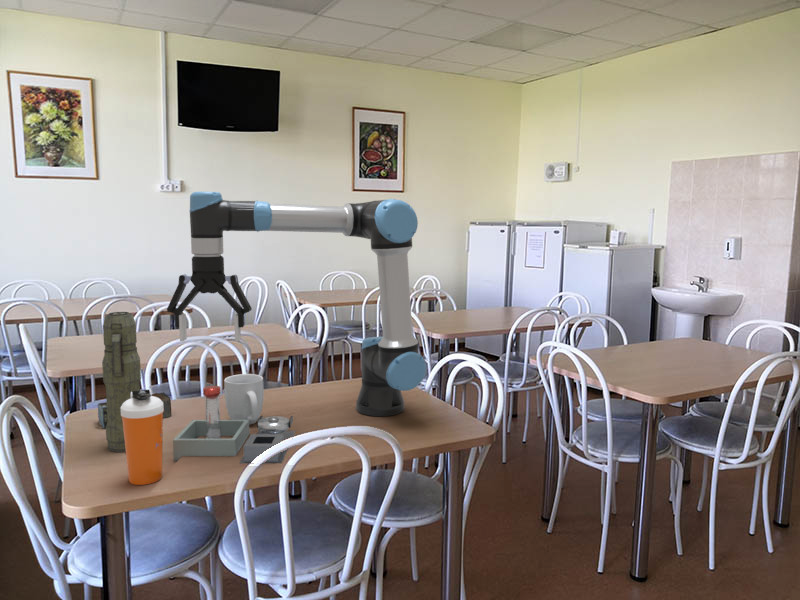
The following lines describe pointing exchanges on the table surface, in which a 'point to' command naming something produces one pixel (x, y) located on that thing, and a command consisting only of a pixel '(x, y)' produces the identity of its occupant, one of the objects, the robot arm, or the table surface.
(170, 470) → the table surface
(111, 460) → the table surface
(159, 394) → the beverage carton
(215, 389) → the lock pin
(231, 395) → the mug
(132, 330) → the thermos
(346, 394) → the table surface
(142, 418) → the shaker bottle
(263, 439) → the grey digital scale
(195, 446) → the rectangular frame
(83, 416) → the table surface
